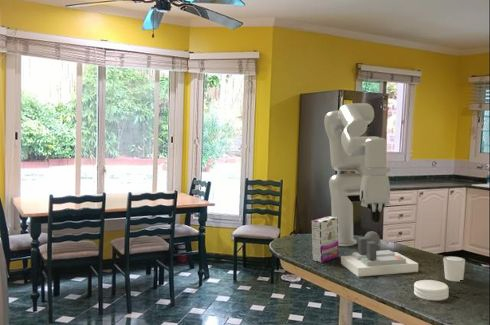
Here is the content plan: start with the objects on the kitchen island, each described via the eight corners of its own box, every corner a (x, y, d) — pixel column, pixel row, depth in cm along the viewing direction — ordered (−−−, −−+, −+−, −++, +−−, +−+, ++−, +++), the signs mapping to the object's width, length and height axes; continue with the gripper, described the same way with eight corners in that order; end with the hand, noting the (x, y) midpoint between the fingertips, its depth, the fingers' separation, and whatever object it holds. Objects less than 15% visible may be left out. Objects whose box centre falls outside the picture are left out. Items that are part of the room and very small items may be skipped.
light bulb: (380, 257, 186) (380, 233, 185) (364, 257, 187) (364, 232, 187) (379, 253, 192) (378, 229, 191) (364, 253, 193) (363, 229, 192)
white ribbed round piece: (438, 289, 149) (438, 278, 149) (455, 300, 140) (455, 288, 139) (408, 291, 148) (408, 280, 148) (423, 302, 139) (423, 290, 138)
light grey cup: (448, 274, 163) (448, 254, 163) (468, 278, 158) (468, 258, 158) (439, 279, 159) (439, 259, 158) (460, 283, 154) (460, 262, 153)
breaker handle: (366, 257, 169) (366, 241, 169) (372, 257, 170) (372, 241, 169) (370, 260, 166) (370, 243, 166) (376, 259, 167) (376, 243, 166)
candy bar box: (329, 255, 192) (328, 215, 191) (339, 257, 188) (338, 217, 187) (311, 260, 184) (310, 219, 183) (321, 263, 181) (320, 221, 180)
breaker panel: (341, 263, 179) (340, 237, 178) (396, 259, 183) (396, 233, 182) (358, 276, 163) (357, 247, 162) (418, 271, 167) (418, 243, 166)
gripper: (389, 170, 173) (389, 218, 174) (351, 171, 170) (351, 220, 172) (399, 172, 165) (399, 222, 167) (360, 174, 163) (360, 225, 165)
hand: (375, 221), depth 170 cm, fingers closed
